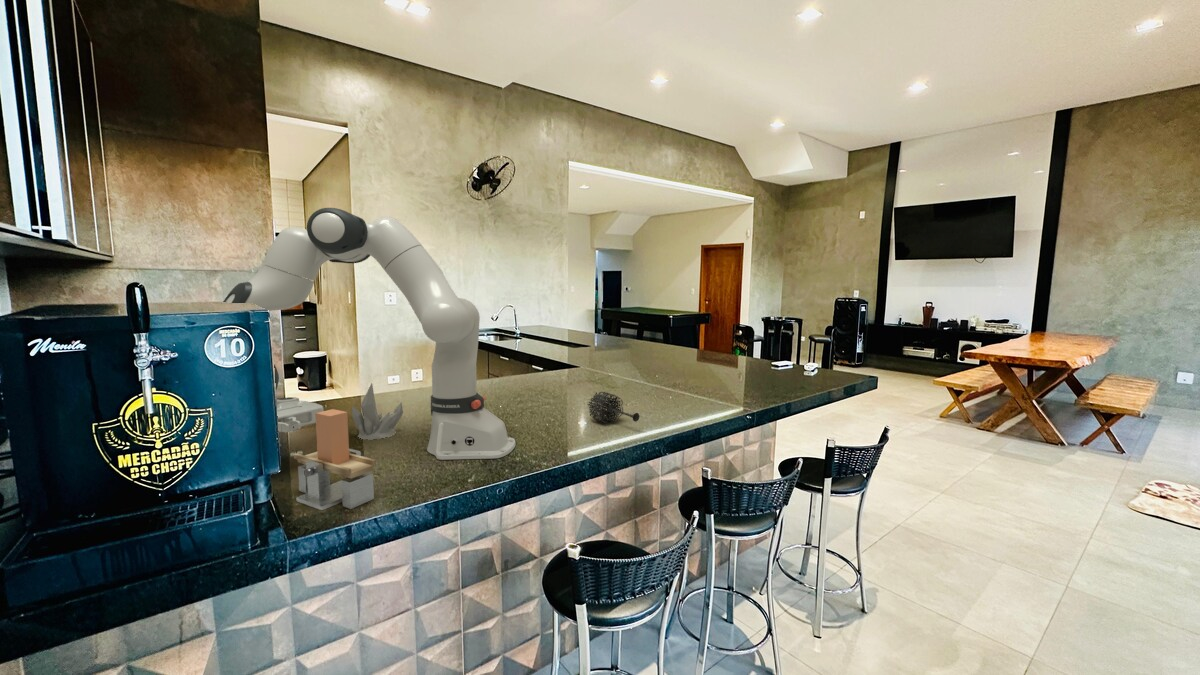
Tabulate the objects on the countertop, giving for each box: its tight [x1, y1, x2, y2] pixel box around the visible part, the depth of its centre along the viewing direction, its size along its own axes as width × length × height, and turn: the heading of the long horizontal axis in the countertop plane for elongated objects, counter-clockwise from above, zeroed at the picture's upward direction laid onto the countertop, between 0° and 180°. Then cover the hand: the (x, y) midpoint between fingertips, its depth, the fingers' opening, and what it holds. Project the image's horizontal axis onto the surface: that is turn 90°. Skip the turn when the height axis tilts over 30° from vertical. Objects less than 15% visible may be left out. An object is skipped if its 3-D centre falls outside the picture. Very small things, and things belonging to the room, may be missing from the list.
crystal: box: [351, 383, 404, 441], centre depth 135 cm, size 10×13×15 cm
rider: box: [315, 408, 350, 465], centre depth 95 cm, size 5×4×10 cm
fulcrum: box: [295, 448, 375, 511], centre depth 96 cm, size 16×11×8 cm
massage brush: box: [586, 391, 640, 425], centre depth 148 cm, size 9×22×9 cm, turn 39°
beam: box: [293, 451, 377, 478], centre depth 95 cm, size 17×6×2 cm, turn 62°
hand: (293, 427), depth 101 cm, fingers closed
